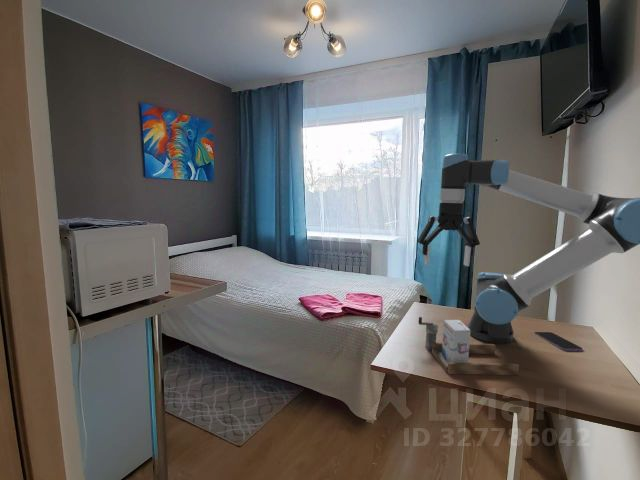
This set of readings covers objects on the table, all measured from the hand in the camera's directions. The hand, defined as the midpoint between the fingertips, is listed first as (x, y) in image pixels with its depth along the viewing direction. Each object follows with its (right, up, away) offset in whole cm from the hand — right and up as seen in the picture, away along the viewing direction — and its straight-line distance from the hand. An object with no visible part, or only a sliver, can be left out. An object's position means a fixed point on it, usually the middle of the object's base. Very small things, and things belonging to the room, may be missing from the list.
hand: (446, 265), depth 115 cm
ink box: (-2, -29, -12) cm, 31 cm away
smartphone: (+41, -28, +5) cm, 50 cm away
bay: (+1, -28, -10) cm, 30 cm away
